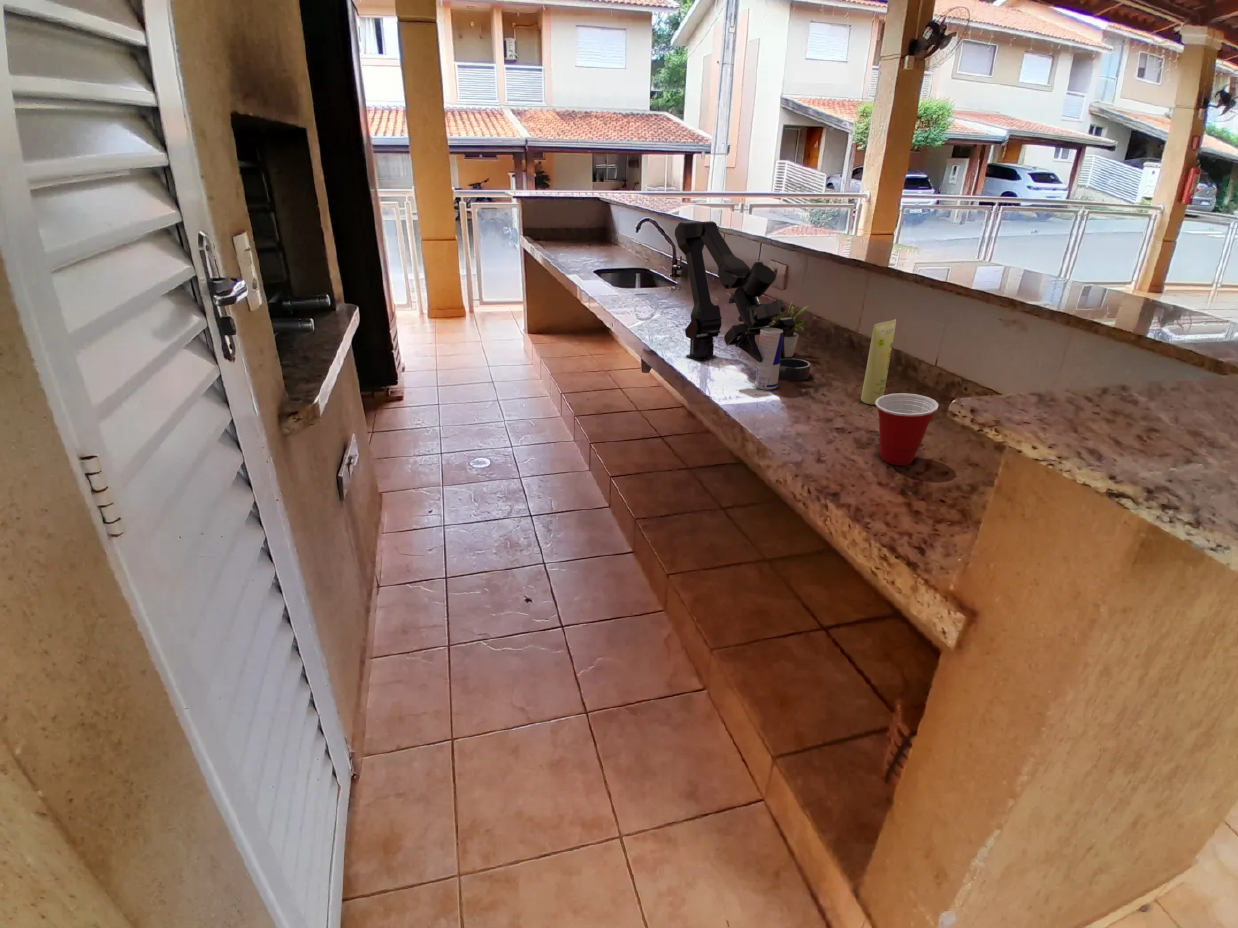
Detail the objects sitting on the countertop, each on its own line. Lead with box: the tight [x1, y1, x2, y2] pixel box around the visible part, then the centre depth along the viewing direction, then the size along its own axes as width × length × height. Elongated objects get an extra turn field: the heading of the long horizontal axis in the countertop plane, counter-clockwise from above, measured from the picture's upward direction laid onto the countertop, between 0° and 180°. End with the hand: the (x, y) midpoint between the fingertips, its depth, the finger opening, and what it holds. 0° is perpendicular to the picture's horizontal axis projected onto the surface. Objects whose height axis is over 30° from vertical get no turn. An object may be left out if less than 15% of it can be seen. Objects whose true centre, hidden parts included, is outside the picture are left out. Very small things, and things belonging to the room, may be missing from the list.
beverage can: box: [754, 328, 783, 391], centre depth 156 cm, size 6×6×15 cm
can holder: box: [778, 357, 812, 382], centre depth 167 cm, size 9×9×4 cm
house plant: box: [769, 300, 810, 358], centre depth 183 cm, size 14×14×16 cm
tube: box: [860, 318, 897, 406], centre depth 144 cm, size 6×5×20 cm
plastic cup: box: [875, 392, 940, 466], centre depth 117 cm, size 11×11×12 cm
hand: (772, 360), depth 155 cm, fingers open, 7 cm apart
